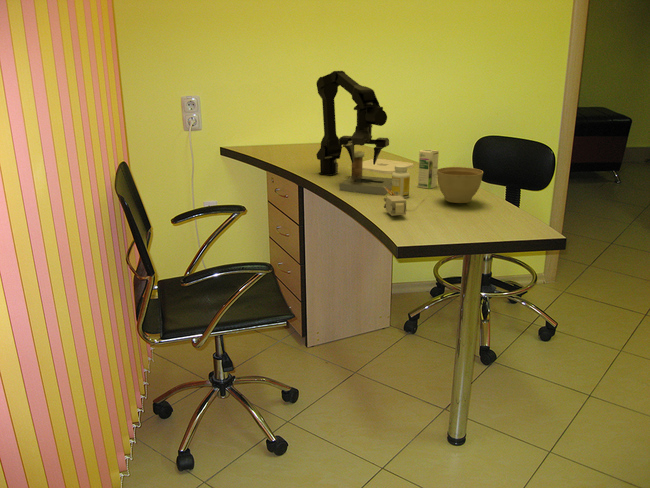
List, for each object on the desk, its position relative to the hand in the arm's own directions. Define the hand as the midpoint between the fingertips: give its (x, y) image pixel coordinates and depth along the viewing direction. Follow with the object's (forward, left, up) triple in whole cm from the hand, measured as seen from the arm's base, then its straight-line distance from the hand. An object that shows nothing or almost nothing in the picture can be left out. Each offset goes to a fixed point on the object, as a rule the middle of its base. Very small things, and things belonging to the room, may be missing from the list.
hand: (363, 163), depth 237 cm
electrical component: (+17, -23, -10) cm, 30 cm away
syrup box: (+23, +11, -10) cm, 27 cm away
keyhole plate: (+2, 0, -10) cm, 10 cm away
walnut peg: (-7, +13, -10) cm, 18 cm away
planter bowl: (+38, -6, -10) cm, 40 cm away
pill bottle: (+17, -8, -10) cm, 21 cm away
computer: (-3, +37, -10) cm, 39 cm away
